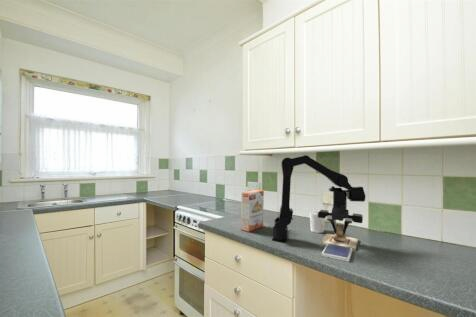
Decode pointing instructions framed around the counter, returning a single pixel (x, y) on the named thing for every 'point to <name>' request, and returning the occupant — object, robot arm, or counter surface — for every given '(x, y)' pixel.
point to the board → (348, 242)
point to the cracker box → (252, 210)
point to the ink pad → (337, 252)
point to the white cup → (316, 222)
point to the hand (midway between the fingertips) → (339, 234)
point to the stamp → (339, 233)
